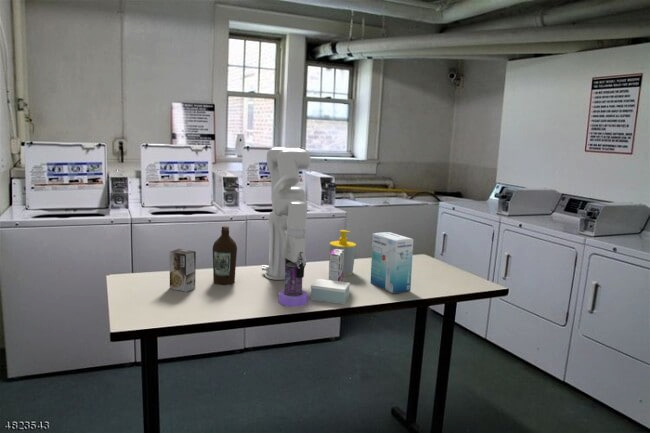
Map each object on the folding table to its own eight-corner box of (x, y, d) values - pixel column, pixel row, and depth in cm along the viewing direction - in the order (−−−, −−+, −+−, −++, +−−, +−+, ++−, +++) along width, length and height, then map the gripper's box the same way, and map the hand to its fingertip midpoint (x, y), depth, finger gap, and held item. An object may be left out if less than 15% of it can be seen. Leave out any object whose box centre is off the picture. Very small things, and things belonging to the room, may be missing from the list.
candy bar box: (332, 283, 234) (334, 248, 231) (342, 284, 233) (344, 249, 230) (327, 290, 223) (329, 253, 221) (338, 291, 222) (340, 255, 220)
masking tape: (274, 298, 210) (275, 289, 209) (301, 296, 214) (301, 287, 214) (283, 308, 199) (284, 298, 198) (311, 305, 204) (312, 296, 203)
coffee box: (196, 288, 216) (196, 251, 214) (186, 292, 210) (186, 254, 208) (179, 284, 220) (179, 248, 217) (168, 288, 214) (168, 250, 212)
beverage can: (284, 289, 209) (284, 261, 207) (301, 289, 210) (302, 261, 208) (284, 295, 202) (285, 266, 200) (302, 295, 203) (303, 266, 201)
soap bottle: (354, 277, 246) (357, 234, 243) (327, 275, 246) (330, 232, 243) (353, 269, 259) (356, 228, 256) (328, 268, 259) (330, 227, 256)
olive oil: (215, 277, 233) (216, 223, 228) (238, 279, 232) (240, 225, 228) (208, 284, 222) (209, 228, 218) (232, 286, 222) (234, 229, 217)
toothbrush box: (368, 283, 237) (372, 232, 233) (386, 280, 243) (390, 231, 239) (392, 294, 222) (396, 240, 218) (410, 291, 228) (415, 238, 224)
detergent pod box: (310, 299, 210) (311, 285, 209) (316, 292, 220) (317, 278, 219) (343, 304, 207) (344, 289, 206) (348, 296, 216) (349, 282, 215)
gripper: (278, 228, 207) (276, 268, 211) (298, 238, 193) (295, 281, 196) (294, 227, 211) (292, 267, 215) (315, 236, 197) (312, 279, 200)
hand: (294, 273), depth 205 cm, fingers open, 9 cm apart
